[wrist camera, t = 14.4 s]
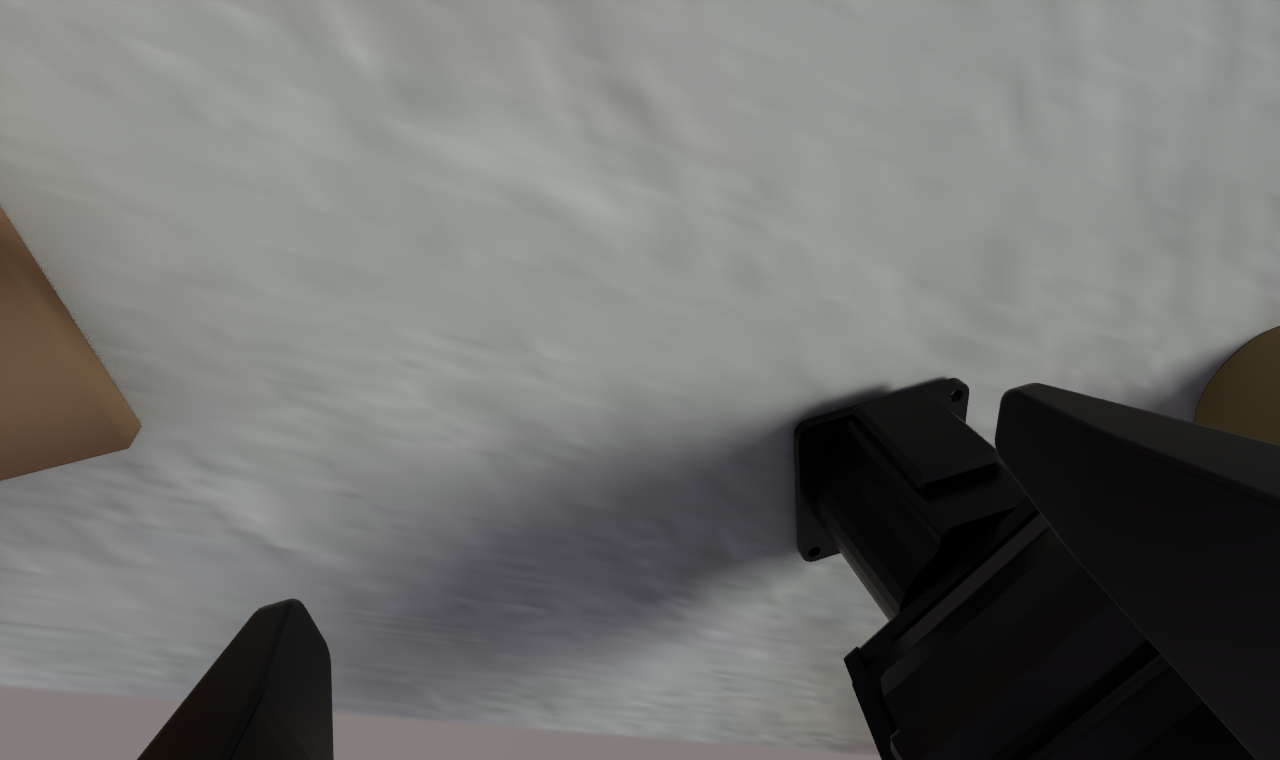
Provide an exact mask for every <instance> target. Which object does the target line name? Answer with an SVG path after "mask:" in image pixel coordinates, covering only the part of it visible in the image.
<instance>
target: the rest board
mask: <svg viewBox="0 0 1280 760" xmlns="http://www.w3.org/2000/svg"><path fill="white" fill-rule="evenodd" d="M141 427H142V426H141V425H140V423H139V421H138V420H137V418H136V417H135V415H134V414H133V412H132V411H131V409H130V407H129V406H128V404H127V403H126V401H125V400H124V398H123V396H122V395H121V393H120V392H119V390H118V389H117V387H116V386H115V384H114V382H113V381H112V379H111V378H110V376H109V375H108V373H107V372H106V370H105V368H104V367H103V365H102V364H101V362H100V361H99V359H98V358H97V356H96V354H95V353H94V351H93V350H92V348H91V347H90V345H89V343H88V342H87V340H86V339H85V337H84V336H83V334H82V333H81V331H80V329H79V328H78V326H77V325H76V323H75V322H74V320H73V319H72V317H71V315H70V314H69V312H68V311H67V309H66V308H65V306H64V305H63V303H62V301H61V300H60V298H59V297H58V295H57V294H56V292H55V290H54V289H53V287H52V286H51V284H50V283H49V281H48V280H47V278H46V276H45V275H44V273H43V272H42V270H41V269H40V267H39V266H38V264H37V262H36V261H35V259H34V258H33V256H32V255H31V253H30V252H29V250H28V248H27V247H26V245H25V244H24V242H23V241H22V239H21V237H20V236H19V234H18V233H17V231H16V230H15V228H14V227H13V225H12V223H11V222H10V220H9V219H8V217H7V216H6V214H5V213H4V211H3V209H2V208H1V206H0V481H1V480H5V479H9V478H13V477H17V476H21V475H25V474H29V473H33V472H37V471H41V470H45V469H49V468H53V467H57V466H60V465H64V464H68V463H72V462H76V461H80V460H84V459H88V458H92V457H96V456H100V455H104V454H108V453H112V452H116V451H120V450H124V449H128V448H129V447H130V445H131V444H132V442H133V440H134V439H135V437H136V435H137V434H138V432H139V430H140V429H141Z"/></svg>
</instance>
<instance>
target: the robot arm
mask: <svg viewBox="0 0 1280 760" xmlns="http://www.w3.org/2000/svg"><path fill="white" fill-rule="evenodd" d="M954 391H955V392H954ZM953 392H954V393H953ZM952 393H953V394H952ZM951 394H952V395H951ZM968 398H969V388H968V386H967V385H966V384H965V383H963V382H962V381H961V380H959V379H957V378H950V379H947V380H943V381H940V382H936V383H933V384H929V385H926V386H922V387H919V388H915V389H912V390H908V391H905V392H901V393H898V394H894V395H891V396H887V397H884V398H880V399H877V400H873V401H870V402H866V403H863V404H859V405H856V406H852V407H849V408H845V409H842V410H838V411H835V412H831V413H828V414H824V415H821V416H817V417H814V418H810V419H807V420H804V421H802V422H801V423H800V424H799V425H797V427H796V429H795V430H794V460H795V488H796V516H797V543H798V551H799V553H800V554H801V556H802V558H803V559H804V560H805V561H808V562H812V561H816V560H819V559H823V558H826V557H829V556H832V555H835V554H838V553H841V554H842V555H843V556H844V558H845V559H846V561H847V562H848V564H849V565H850V566H851V568H852V569H853V571H854V572H855V573H856V575H857V576H858V578H859V579H860V580H861V582H862V583H863V585H864V586H865V587H866V589H867V590H868V592H869V593H870V594H871V596H872V597H873V599H874V600H875V601H876V603H877V604H878V606H879V607H880V609H881V610H882V611H883V613H884V614H885V616H886V617H887V618H888V620H889V622H888V623H887V624H886V625H885V626H883V627H882V628H881V629H880V630H879V631H878V632H877V633H876V634H875V635H873V636H872V637H871V638H870V639H869V640H868V641H867V642H866V643H865V644H864V645H862V646H861V647H860V648H858V647H856V648H854V649H853V650H852V651H851V652H850V653H849V654H848V655H847V656H846V657H844V662H845V664H846V667H847V669H848V672H849V674H850V677H851V679H852V682H853V683H852V686H853V688H854V691H855V693H856V696H857V699H858V701H859V704H860V706H861V709H862V711H863V714H864V716H865V719H866V721H867V724H868V726H869V729H870V731H871V734H872V736H873V739H874V741H875V744H876V746H877V749H878V752H879V754H880V757H881V759H882V760H1280V445H1277V444H1273V443H1269V442H1265V441H1262V440H1258V439H1254V438H1250V437H1246V436H1242V435H1238V434H1234V433H1231V432H1227V431H1223V430H1219V429H1215V428H1211V427H1207V426H1203V425H1200V424H1196V423H1192V422H1188V421H1184V420H1180V419H1176V418H1172V417H1169V416H1165V415H1161V414H1157V413H1153V412H1149V411H1145V410H1141V409H1138V408H1134V407H1130V406H1126V405H1122V404H1118V403H1114V402H1111V401H1107V400H1103V399H1099V398H1095V397H1091V396H1087V395H1083V394H1080V393H1076V392H1072V391H1068V390H1064V389H1060V388H1056V387H1052V386H1049V385H1045V384H1041V383H1030V384H1026V385H1023V386H1019V387H1016V388H1013V389H1010V390H1008V391H1006V392H1005V393H1004V395H1003V396H1002V398H1001V402H1000V408H999V415H998V421H997V428H996V434H995V446H996V448H994V447H993V446H992V445H991V444H990V443H989V442H987V441H986V440H985V439H984V438H983V437H981V436H980V435H979V434H978V433H977V432H976V431H974V430H973V429H972V428H971V427H970V426H968V425H967V424H966V423H965V422H966V414H967V406H968ZM812 431H813V433H812V434H811V435H810V436H808V437H806V436H807V435H808V433H810V432H812ZM1002 461H1003V462H1002ZM811 548H812V549H811ZM332 722H333V721H332V683H331V659H330V653H329V649H328V646H327V644H326V642H325V640H324V638H323V637H322V635H321V633H320V631H319V630H318V628H317V626H316V625H315V623H314V621H313V620H312V618H311V616H310V614H309V613H308V611H307V609H306V608H305V606H304V605H303V603H302V602H301V601H299V600H298V599H287V600H284V601H281V602H277V603H274V604H270V605H267V606H264V607H262V608H259V609H258V610H257V611H256V612H255V613H254V614H253V615H252V616H251V618H250V619H249V620H248V621H247V623H246V624H245V625H244V626H243V628H242V629H241V630H240V631H239V633H238V634H237V635H236V636H235V638H234V639H233V640H232V641H231V643H230V644H229V645H228V646H227V648H226V649H225V650H224V651H223V653H222V654H221V655H220V656H219V658H218V659H217V660H216V661H215V663H214V664H213V665H212V666H211V668H210V669H209V670H208V671H207V673H206V674H205V675H204V676H203V678H202V679H201V680H200V681H199V683H198V684H197V685H196V686H195V688H194V689H193V690H192V691H191V693H190V694H189V695H188V696H187V698H186V699H185V700H184V701H183V703H182V704H181V705H180V706H179V708H178V709H177V710H176V711H175V713H174V714H173V715H172V716H171V718H170V719H169V720H168V721H167V723H166V724H165V725H164V726H163V728H162V729H161V730H160V731H159V733H158V734H157V735H156V736H155V738H154V739H153V740H152V741H151V743H150V744H149V745H148V746H147V748H146V749H145V750H144V751H143V753H142V754H141V755H140V756H139V758H138V759H137V760H334V759H333V758H334V757H333V723H332Z"/></svg>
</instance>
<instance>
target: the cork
mask: <svg viewBox="0 0 1280 760" xmlns="http://www.w3.org/2000/svg"><path fill="white" fill-rule="evenodd" d="M1194 422H1195V423H1196V424H1200V425H1203V426H1207V427H1211V428H1215V429H1219V430H1223V431H1227V432H1231V433H1234V434H1238V435H1242V436H1246V437H1250V438H1254V439H1258V440H1262V441H1265V442H1269V443H1273V444H1277V445H1280V326H1279V327H1277V328H1274V329H1272V330H1269V331H1267V332H1264V333H1262V334H1261V335H1259V336H1258V337H1256V338H1255V339H1253V340H1252V341H1250V342H1249V343H1247V344H1246V345H1244V346H1243V347H1242V348H1241V349H1239V350H1238V351H1237V352H1236V353H1235V354H1234V355H1233V356H1232V357H1231V358H1230V359H1229V360H1228V361H1227V362H1226V363H1224V364H1223V366H1222V367H1221V368H1220V370H1219V371H1218V372H1217V373H1216V375H1215V376H1214V377H1213V379H1212V380H1211V381H1210V382H1209V384H1208V385H1207V387H1206V389H1205V391H1204V393H1203V395H1202V397H1201V399H1200V401H1199V403H1198V407H1197V411H1196V416H1195V421H1194Z"/></svg>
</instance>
